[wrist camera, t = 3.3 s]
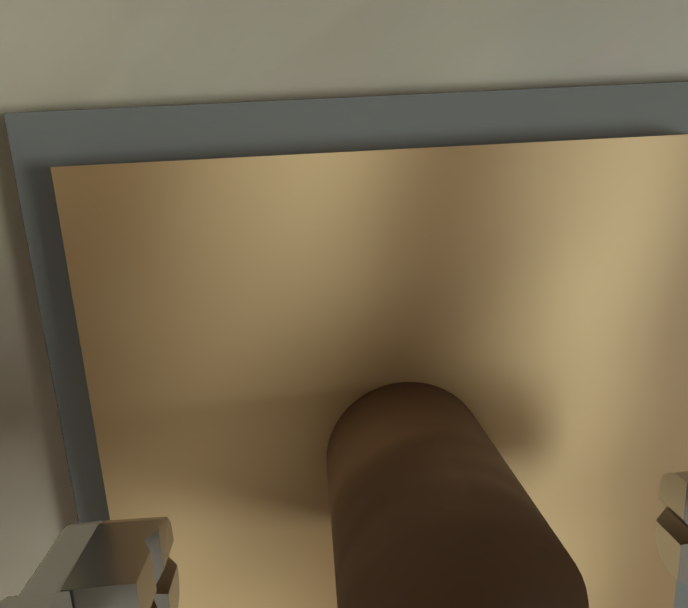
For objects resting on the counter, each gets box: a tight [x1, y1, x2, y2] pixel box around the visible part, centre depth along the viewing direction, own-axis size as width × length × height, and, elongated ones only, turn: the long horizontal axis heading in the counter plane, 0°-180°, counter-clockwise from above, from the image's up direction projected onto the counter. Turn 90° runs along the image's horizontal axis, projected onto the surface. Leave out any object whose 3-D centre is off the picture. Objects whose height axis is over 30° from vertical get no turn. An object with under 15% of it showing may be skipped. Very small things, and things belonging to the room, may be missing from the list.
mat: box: [4, 82, 688, 608], centre depth 12 cm, size 14×14×1 cm
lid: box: [51, 134, 688, 608], centre depth 10 cm, size 12×12×5 cm
